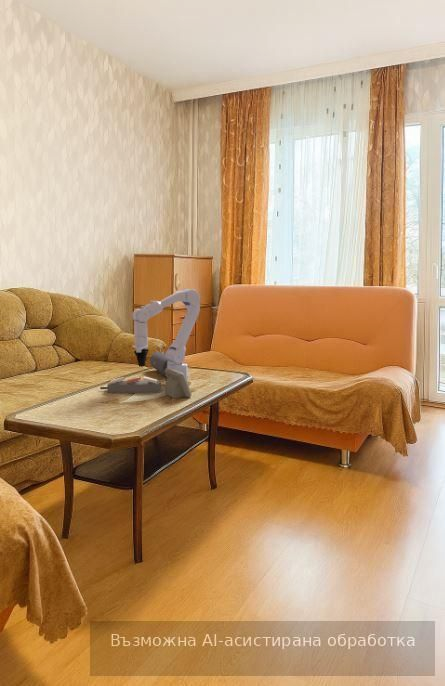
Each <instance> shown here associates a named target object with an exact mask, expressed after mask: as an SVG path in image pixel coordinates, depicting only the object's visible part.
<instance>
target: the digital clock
mask: <svg viewBox="0 0 445 686" xmlns="http://www.w3.org/2000/svg"><path fill="white" fill-rule="evenodd" d="M165 374H166V376H165V377H166V382H165V383H164V394H165V395H166V396H169V397H170V398H173V399H177V398H178V399H179V398H183V397H184V398H187V399H188V398H191V397H192V396H193V395H192V391H191V388H190V386H189V382H188V381H187V380H186V378H185V375H184V374H183V373H181V372H178V371H176V370H173V369H170V368H166V369H165ZM167 380H168V381H167Z"/></svg>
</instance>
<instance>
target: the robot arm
mask: <svg viewBox="0 0 445 686" xmlns="http://www.w3.org/2000/svg"><path fill="white" fill-rule="evenodd" d="M201 297H202V296H201V295H200V293H199V291H198V290H196V289H193V288H191V289H190V288H189V289H188V288H183V289H181V290H178V291H175V292H174V293H172V294H170V295H168V296H167V297H165V298H163V299H162V300H160V301H158V300H150V303H148V304H145V305H141V308H136V309H135V310H134V309H133V312H132V315H131V317H132V320H133V321H134V322H133V329H134V330H133V331H134V345H132V346H131V348H134V349H135V350H134V351H133V352H134V353H133V354H135V357H136V360H137V364H138V366H139V367H141V368H142V367H145V366H146V363H147V362H146V361H147V356H148V353H149V349H148V348H149V344H148V343H149V342H148V340H149V339H148V321H149V320H150V319H151V318H153V317H155V316H156V315H158V314H160V313H162V311H163V309H164V308H166V307H168V306H170V305H173V304H175V303H177V302H182V304H183V305H184V306H185V308H186V314H185V315H184V318H183V320H182V323H181V325H180V328H179V330H178V332H177V335H176V337H175V340H174V341H173V342H172V343H171V344H170V346H169V347H168V349H166V351H165V353H164V354H165V358H166V359H167V360H168V362H167V368H170V369H173V370H176V371H178V372H181V373H183V374H184V375H185V378H186V380H187V382H188V381H189V373H188V371H189V370H188V364H187V363H184V362H185V359H186V351H187V349H186V345H187V342H188V341H189V338H190V336H191V333H192V330H193V328H194V326H195V324H196V322H197V319H198V317H199V315H200V311H201V306H200V304H201V303H200V302H201ZM167 381H168V380H167V379H166V382H167Z"/></svg>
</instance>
